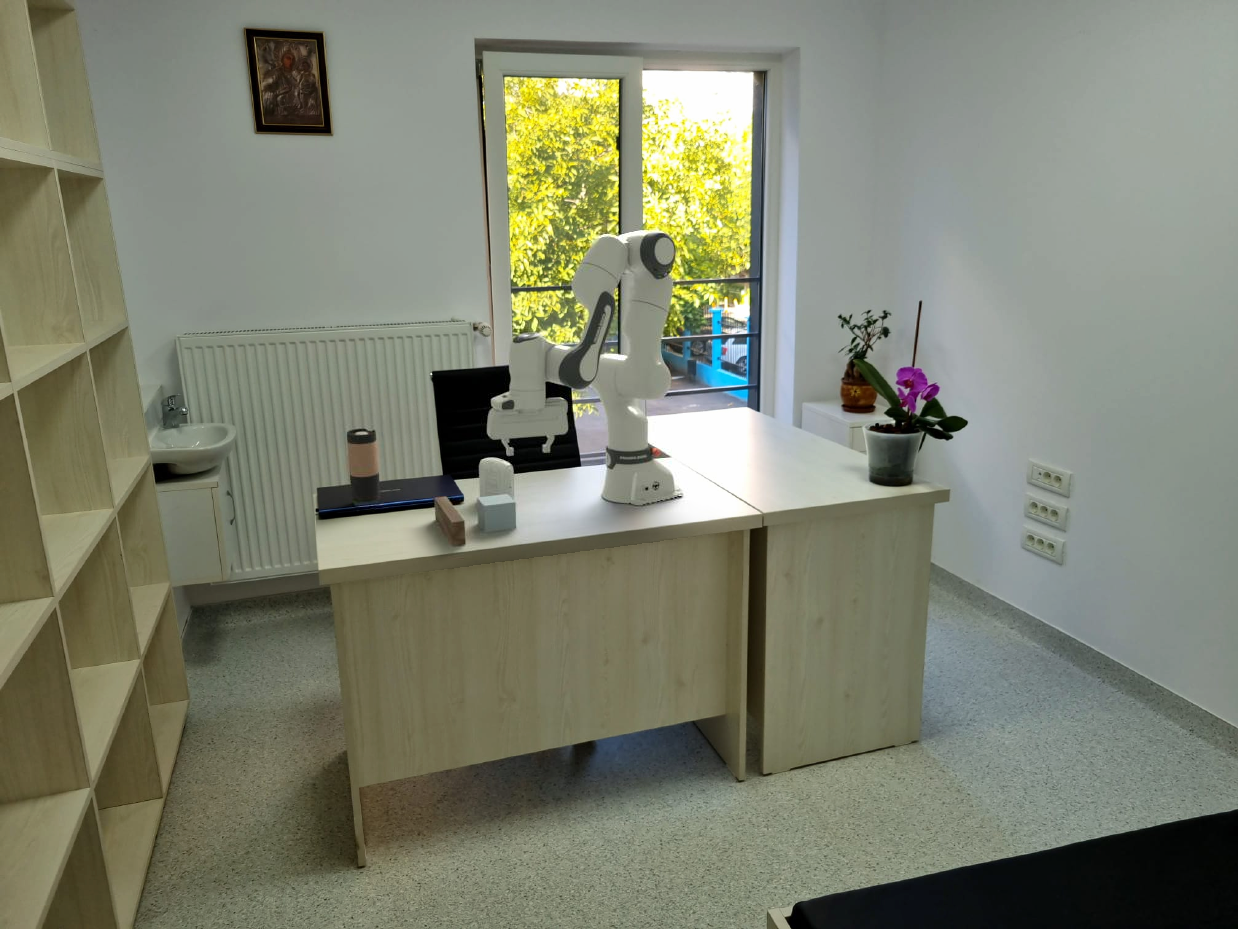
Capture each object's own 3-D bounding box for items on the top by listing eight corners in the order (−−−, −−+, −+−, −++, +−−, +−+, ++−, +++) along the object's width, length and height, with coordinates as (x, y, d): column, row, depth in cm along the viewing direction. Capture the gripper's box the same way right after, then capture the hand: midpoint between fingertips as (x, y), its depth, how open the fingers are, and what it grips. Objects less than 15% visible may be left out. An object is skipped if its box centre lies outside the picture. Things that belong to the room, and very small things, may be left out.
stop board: (447, 518, 242) (446, 496, 241) (465, 544, 225) (464, 520, 223) (435, 519, 241) (434, 497, 240) (453, 546, 224) (452, 522, 222)
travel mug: (353, 509, 249) (347, 436, 243) (350, 501, 256) (344, 429, 250) (383, 506, 252) (378, 433, 246) (378, 497, 258) (373, 427, 253)
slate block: (508, 519, 242) (507, 493, 240) (516, 528, 236) (515, 502, 234) (478, 523, 239) (477, 497, 237) (485, 532, 233) (484, 505, 231)
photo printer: (516, 503, 254) (515, 459, 251) (506, 507, 251) (505, 463, 247) (488, 496, 260) (486, 453, 256) (477, 501, 256) (475, 457, 253)
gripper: (563, 394, 239) (563, 447, 242) (484, 399, 231) (485, 453, 235) (571, 399, 233) (571, 453, 237) (490, 404, 226) (492, 460, 229)
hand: (528, 453), depth 236 cm, fingers open, 8 cm apart
